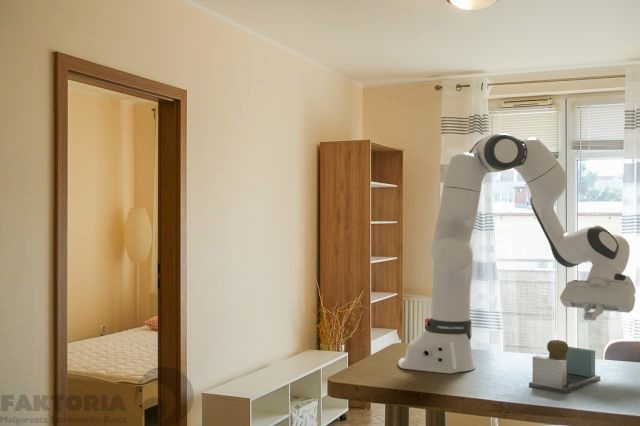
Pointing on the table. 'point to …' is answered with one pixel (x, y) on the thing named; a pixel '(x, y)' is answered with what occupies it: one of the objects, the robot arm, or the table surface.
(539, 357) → the vise base
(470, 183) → the robot arm
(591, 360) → the block
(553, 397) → the table surface
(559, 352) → the cork
